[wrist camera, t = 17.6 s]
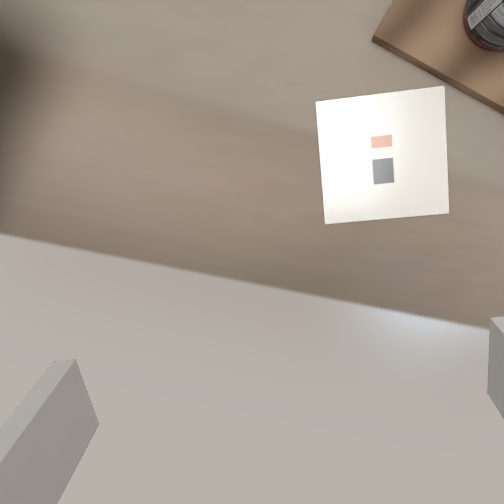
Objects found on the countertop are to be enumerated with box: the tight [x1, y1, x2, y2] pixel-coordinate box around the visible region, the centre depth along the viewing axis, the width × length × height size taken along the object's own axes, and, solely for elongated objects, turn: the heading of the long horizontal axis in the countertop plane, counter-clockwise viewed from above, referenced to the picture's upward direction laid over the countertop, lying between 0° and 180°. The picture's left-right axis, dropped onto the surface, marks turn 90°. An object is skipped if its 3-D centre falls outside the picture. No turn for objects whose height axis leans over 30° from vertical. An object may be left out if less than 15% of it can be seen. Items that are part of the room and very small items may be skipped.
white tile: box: [316, 86, 449, 224], centre depth 40 cm, size 11×11×1 cm
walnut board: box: [372, 0, 504, 114], centre depth 36 cm, size 16×12×2 cm
